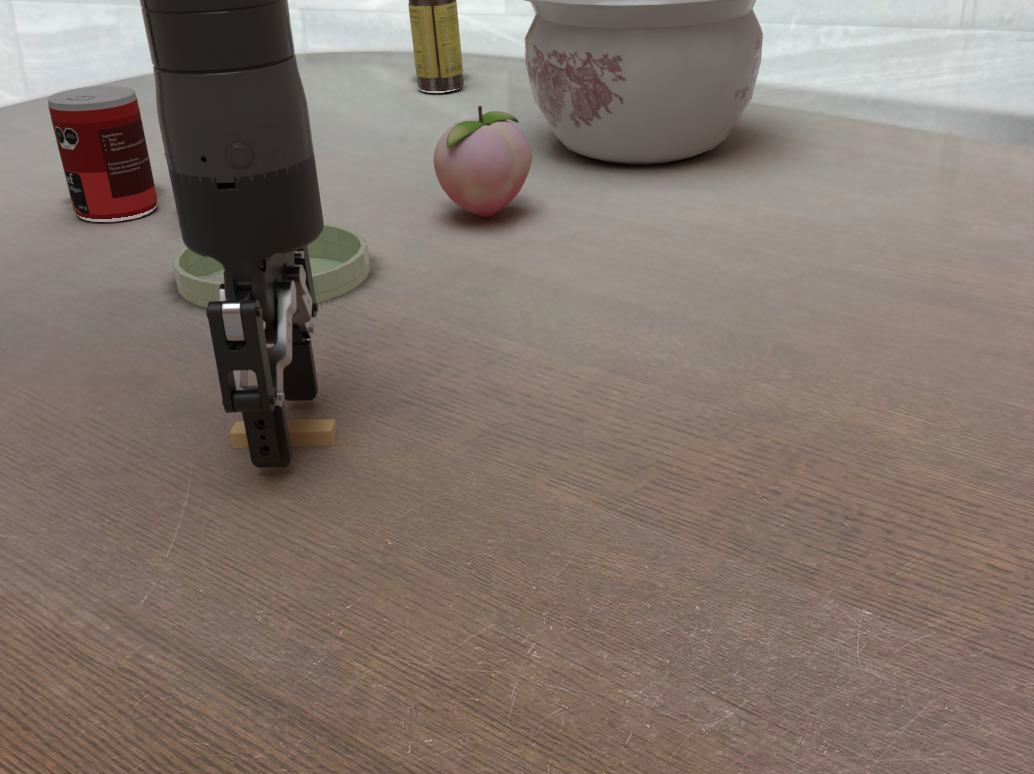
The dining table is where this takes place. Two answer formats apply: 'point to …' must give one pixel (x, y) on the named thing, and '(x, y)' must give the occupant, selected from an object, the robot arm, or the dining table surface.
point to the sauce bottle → (436, 44)
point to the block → (294, 433)
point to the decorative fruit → (483, 162)
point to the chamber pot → (642, 74)
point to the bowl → (331, 258)
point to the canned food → (103, 151)
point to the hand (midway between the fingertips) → (287, 430)
